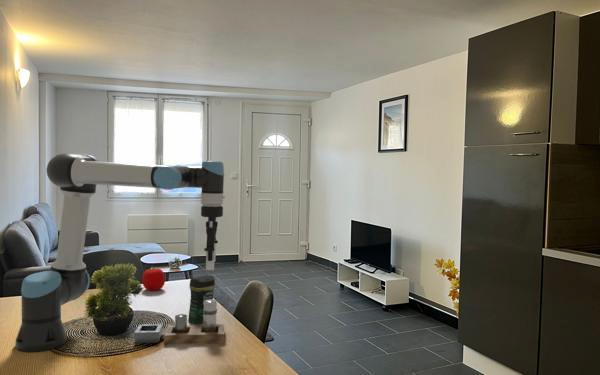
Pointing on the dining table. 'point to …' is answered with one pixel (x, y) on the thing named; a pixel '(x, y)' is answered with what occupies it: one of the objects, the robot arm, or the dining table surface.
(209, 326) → the grey metal cylinder
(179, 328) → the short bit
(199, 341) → the rack
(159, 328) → the socket block
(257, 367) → the dining table surface
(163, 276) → the tomato
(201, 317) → the coffee jar
